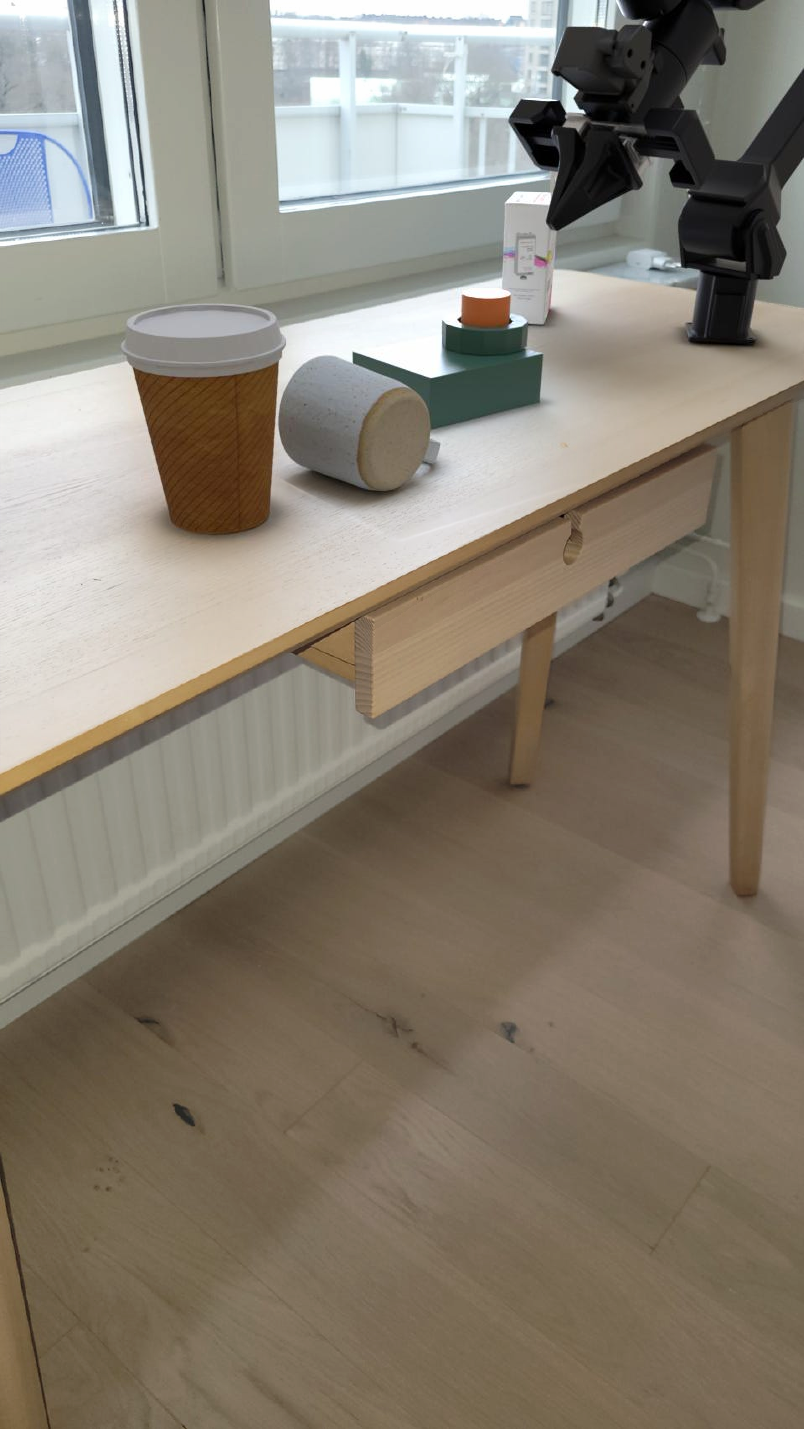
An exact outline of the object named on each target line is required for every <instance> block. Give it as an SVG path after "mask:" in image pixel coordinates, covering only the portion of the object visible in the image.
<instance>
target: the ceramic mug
mask: <svg viewBox="0 0 804 1429" xmlns="http://www.w3.org/2000/svg"><path fill="white" fill-rule="evenodd" d="M277 426H278V427H277V428H278V433H279V438H280V442H281V445H282V448H283V449H284V452H285V453H286V455H287V456H288V457H289V459H291V461H293V462H294V463H295V464H297V465H299V466H301V467H302V468H306V469H309V470H312V471H314V472H317V473H320V474H322V475H325V476H328V477H331V478H334V479H336V480H340V481H342V482H345V483H348V484H350V485H353V486H356V487H358V488H360V489H364V490H368V491H374V492H375V491H377V492H388V491H392V490H395V489H397V488H400V487H401V486H403V485H404V484H406V483H407V482H408V481H409V480H410V479H411V478H413V476H414V475H416V473H417V471H418V470H419V469H420V466H421V465H422V463H423V462H425V463H428V464H435V463H436V460H437V458H438V456H439V452H440V448H441V442H440V441H438V440H435V439H433V438H431V425H430V417H429V411H428V408H427V406H426V403H425V402H424V400H423V399H422V398H421V397H420V395H419V394H418V393H416V392H415V391H414V390H412V389H411V388H409V387H408V386H406V385H404V384H403V383H401V382H399V381H397V380H394V379H392V378H389V377H386V376H383V375H380V374H378V373H375V372H373V371H371V370H368V369H366V368H363V367H361V366H358V365H356V364H353V362H350V361H349V360H346V359H343V358H341V357H339V356H335V355H328V354H327V355H325V354H324V355H318V356H315V357H313V358H311V359H309V360H307V361H306V362H305V363H303V364H302V365H301V366H299V367H298V368H297V369H296V371H295V372H294V373H293V374H292V376H291V378H290V379H289V381H288V382H287V384H286V387H285V388H284V391H283V393H282V396H281V399H280V402H279V409H278V420H277Z"/></svg>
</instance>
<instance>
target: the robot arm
mask: <svg viewBox="0 0 804 1429" xmlns="http://www.w3.org/2000/svg"><path fill="white" fill-rule="evenodd" d="M615 1H616V3H617V6H618V8H619V10H620V12H621V14H622V16H623V17H624V18H625V19H627V20H631V21H639V20H640V21H644V22H643V23H642V24H624V25H622V27H621V28H620V30H617V29H616V28H615V29H610V28H609V29H608V28H605V27H601V26H574V25H573V26H572V25H571V26H570V25H569V26H565V28H564V29H563V32H562V36H561V38H560V42H559V45H558V48H557V50H556V52H555V55H554V56H555V57H554V59H553V62H552V64H551V67H550V73H551V74H552V75H553V76H555V77H557V78H559V77H560V78H561V79H562V80H564V81H565V82H567V83H568V84H569V85H571V87H573V88H574V89H576V90H577V92H576V94H575V95H574V96H573V98H572V99H573V101H574V103H575V104H576V106H577V109H578V110H579V111H583V112H584V113H582V112H570V111H568V112H566V109H565V107H564V106H563V103H562V102H561V100H560V99H559V100H558V99H546V98H545V99H544V98H531V97H530V98H521V99H520V100H519V101H518V103H517V105H516V106H515V107H514V108H513V110H512V111H511V113H510V115H509V116H508V119H507V123H508V124H509V126H510V128H511V129H512V131H513V132H514V134H515V136H516V137H517V139H518V141H519V142H520V144H521V145H522V147H523V149H524V150H525V152H526V154H527V155H528V157H529V158H530V160H531V162H532V163H533V165H534V166H535V167H537V168H538V169H539V170H541V171H547V172H550V171H553V172H558V174H557V178H556V183H555V182H554V185H555V186H554V190H553V194H552V198H551V202H550V205H549V209H548V213H547V217H546V224H547V226H548V227H549V229H550V230H554V231H556V232H559V231H561V230H562V229H564V228H566V227H567V226H569V225H571V224H572V223H574V222H576V221H577V220H579V219H581V218H583V217H584V216H586V215H588V214H590V213H591V212H593V211H595V210H596V209H599V208H600V207H602V206H604V205H605V204H607V203H609V202H612V201H613V200H615V199H617V198H620V197H621V196H623V195H625V194H627V193H629V192H631V191H639V190H640V189H642V188H643V186H644V181H643V180H642V178H641V177H642V175H643V174H644V172H645V171H646V169H647V168H648V167H652V166H653V165H654V163H655V160H654V159H653V158H659V159H669V160H673V162H674V164H673V166H672V167H671V169H670V170H669V172H668V176H669V181H670V183H671V185H672V187H673V188H677V189H684V190H687V192H686V193H687V195H689V196H688V198H687V200H685V203H684V205H683V207H682V208H681V210H680V213H679V216H678V221H677V234H678V246H679V257H680V267H681V268H683V269H692V270H697V271H699V272H698V280H697V287H696V294H695V300H694V307H693V314H692V319H691V320H692V321H690V322H685V324H684V330H685V334H686V337H687V339H688V341H689V342H694V343H695V342H696V343H697V342H698V343H720V344H743V345H755V344H756V343H757V337H756V335H755V333H754V332H753V330H752V327H751V324H752V318H753V312H754V306H755V301H756V296H757V289H758V284H759V280H760V281H771V280H774V278H775V277H778V276H780V275H781V271H782V269H783V267H784V264H785V261H786V259H787V255H788V253H787V250H786V246H785V244H784V242H783V240H782V238H781V237H782V236H781V235H780V233H779V230H778V228H777V226H778V224H779V223H780V221H781V217H782V191H783V189H784V187H785V185H786V184H787V182H788V181H789V180H790V178H791V177H792V176H793V174H794V173H795V171H796V170H797V169H798V167H799V166H800V164H801V163H802V161H803V160H804V67H803V68H802V70H801V71H800V73H799V74H798V76H797V77H796V78H795V80H794V81H793V83H792V84H791V85H790V87H789V88H788V89H787V91H786V92H785V93H784V95H783V97H782V98H781V99H780V101H779V102H778V103H777V105H776V107H774V109H773V111H772V113H770V115H769V117H768V118H767V119H766V121H765V122H764V123H763V125H762V126H761V128H760V129H759V131H758V132H757V134H756V135H755V137H754V138H753V139H752V141H751V142H750V144H749V145H748V146H747V148H746V150H745V151H744V152H743V153H742V155H741V156H740V157H739V158H738V159H736V160H728V159H719V158H716V155H715V152H714V149H713V147H712V144H711V142H710V140H709V137H708V135H707V133H706V131H705V128H704V126H703V124H702V121H701V119H700V117H699V115H698V113H697V110H696V109H689V108H688V109H687V108H685V104H684V102H683V100H682V99H681V95H682V93H683V91H684V90H685V88H686V86H687V85H688V84H689V82H690V80H691V79H692V78H693V76H694V75H695V73H696V71H698V69H699V67H700V66H716V67H717V66H724V65H725V63H726V61H727V46H726V44H725V32H726V30H725V28H724V27H720V25H719V23H718V21H717V18H716V15H715V13H714V12H717V11H718V12H721V11H723V12H724V11H727V12H728V11H730V12H731V11H734V12H735V11H749V10H752V9H754V8H756V7H757V6H758V5H760V4H762V3H763V2H765V1H766V0H615Z"/></svg>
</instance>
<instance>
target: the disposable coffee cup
mask: <svg viewBox="0 0 804 1429" xmlns="http://www.w3.org/2000/svg"><path fill="white" fill-rule="evenodd" d="M125 325H126V326H125V336H124V337H125V338H124V340H123V341H122V342H121V343H120V349H121V351H122V354H123V355H124V356H126V360H127V363H128V364H129V366H131V368H132V372H133V374H134V380H135V383H136V387H137V391H138V395H139V401H140V404H141V408H142V412H143V415H144V418H145V419H144V420H145V423H146V426H147V431H148V435H149V438H150V443H151V447H152V452H153V455H154V459H155V463H156V466H157V471H158V474H159V478H160V482H161V486H162V491H163V494H164V498H165V502H166V505H167V510H168V513H169V514H168V515H169V519H170V521H171V522H172V524H173V525H174V526H176V527H178V528H180V529H181V530H185V531H188V532H193V533H197V534H198V533H199V534H210V535H213V534H214V535H216V534H231V533H236V532H241V531H245V530H249V529H251V528H254V527H257V526H258V525H261V524H262V523H263V522H265V521H266V520H267V519H269V517H270V513H271V497H272V495H271V493H272V482H273V478H272V477H273V466H274V464H273V463H274V448H275V432H276V430H275V429H276V418H277V398H278V384H279V367H280V360H281V359H282V358H283V350H284V349H285V347H286V346H287V338H286V336H285V335H284V334H282V333H281V329H280V326H279V322H278V318H277V316H276V315H275V314H274V313H273V312H271V311H270V310H267V309H264V308H260V307H257V306H249V305H242V304H233V303H187V304H180V305H179V304H178V305H170V306H163V307H157V308H153V309H148V310H145V311H142V312H138V313H135V314H134V315H131V316H130V317H129V318H128V319H127V320H126V324H125Z"/></svg>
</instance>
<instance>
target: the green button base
mask: <svg viewBox="0 0 804 1429" xmlns="http://www.w3.org/2000/svg"><path fill="white" fill-rule="evenodd" d="M528 333H529V324H528V321H527V320H526V319H525V318H524V317H522V316H519V315H515V314H511V313H510V320H509V325H504V326H498V327H479V326H470V325H466V324H462V323H461V311H460V312H454V313H449V314H448V315H446V316H445V317H443V318H442V319H441V334H436V335H431V336H426V337H420V338H415V339H410V340H405V341H399V342H394V343H389V344H385V345H379V346H374V347H369V348H364V349H359V350H358V349H357V350H354V351H352V353H351V354H352V356H351V357H352V363H353V364H356V365H358V366H361V367H363V368H366V369H368V370H371V371H373V372H375V373H378V374H380V375H383V376H386V377H389V378H392V379H394V380H397V381H399V382H401V383H403V384H404V385H406V386H408V387H409V388H411V389H412V390H414V391H415V392H416V393H418V394H419V395H420V397H421V398H422V399H423V400H424V402H425V403H426V406H427V408H428V411H429V417H430V425H431V430H435V429H439V428H444V427H448V426H452V425H455V424H459V423H463V422H468V421H472V420H475V419H479V418H483V417H487V416H492V415H495V414H499V413H503V412H507V411H510V410H515V409H518V408H523V407H527V406H530V405H534V404H539V403H540V402H541V391H542V390H541V388H542V378H543V377H542V376H543V365H544V364H543V363H544V353H543V352H539V351H536V350H532V349H529V348H526V347H527V346H528V336H529V335H528Z"/></svg>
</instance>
